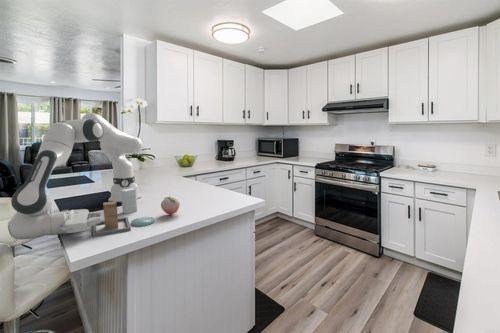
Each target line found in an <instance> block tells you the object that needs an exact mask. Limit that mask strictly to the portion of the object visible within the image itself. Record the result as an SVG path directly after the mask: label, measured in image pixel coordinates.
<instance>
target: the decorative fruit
mask: <svg viewBox="0 0 500 333" xmlns="http://www.w3.org/2000/svg"><path fill="white" fill-rule="evenodd" d="M180 204H181V203H180V201H179V200H178V199H177V198H175V197H171V196H167V197H164V199H163V200H162V201H161V203H160V208H161V209H162V211H163V212H164V213H165V214H167V215H169V216H173V215H174V214H176V213H177V212H178V211H179V209H180V207H181V206H180Z"/></svg>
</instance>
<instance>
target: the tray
mask: <svg viewBox="0 0 500 333" xmlns="http://www.w3.org/2000/svg"><path fill="white" fill-rule="evenodd" d="M120 222H125V224H126V227H122V228H118V229H112V230H105V231H99V232H98V231H97V226H98V225H105V220H100V223H98V224H94V225H92V226H93V227H92V238H94V237H95V238H96V237H100V236H107V235H111V234H113V235H114V234H119V233H124V232H130V231H131V230H132V229H131V225H130V222H129V218H128V216H126V217H120V218H119V217H118V223H120Z"/></svg>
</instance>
